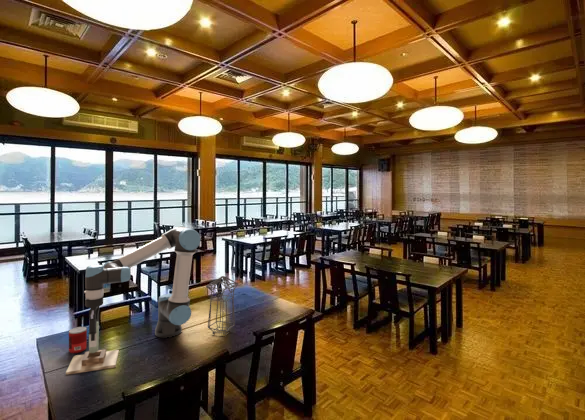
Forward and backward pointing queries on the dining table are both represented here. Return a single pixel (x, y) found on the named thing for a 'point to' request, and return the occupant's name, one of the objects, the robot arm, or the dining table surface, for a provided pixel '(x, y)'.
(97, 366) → the socket board
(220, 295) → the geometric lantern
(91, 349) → the peg
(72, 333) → the canned food
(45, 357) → the dining table surface
